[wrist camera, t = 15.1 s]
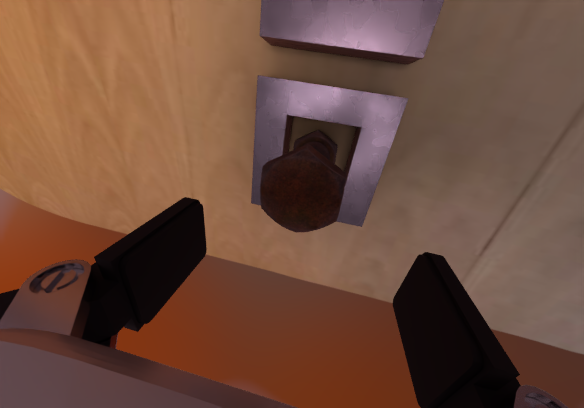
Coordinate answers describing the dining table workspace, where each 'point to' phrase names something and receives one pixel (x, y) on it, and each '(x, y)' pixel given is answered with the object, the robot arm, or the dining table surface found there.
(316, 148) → the bolt
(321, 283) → the dining table surface
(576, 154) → the dining table surface
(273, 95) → the wide-bore block
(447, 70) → the dining table surface
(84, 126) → the dining table surface
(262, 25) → the narrow-bore block
